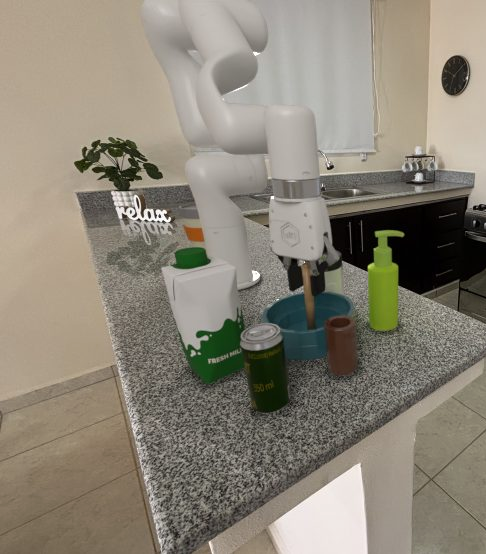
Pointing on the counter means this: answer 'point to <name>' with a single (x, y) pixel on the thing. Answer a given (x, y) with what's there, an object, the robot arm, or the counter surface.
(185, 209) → the reusable coffee cup
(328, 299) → the bowl
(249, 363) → the beer can
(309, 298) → the stick
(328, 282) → the jar
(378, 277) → the soap dispenser
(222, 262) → the milk carton
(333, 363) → the utensil cup
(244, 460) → the counter surface
